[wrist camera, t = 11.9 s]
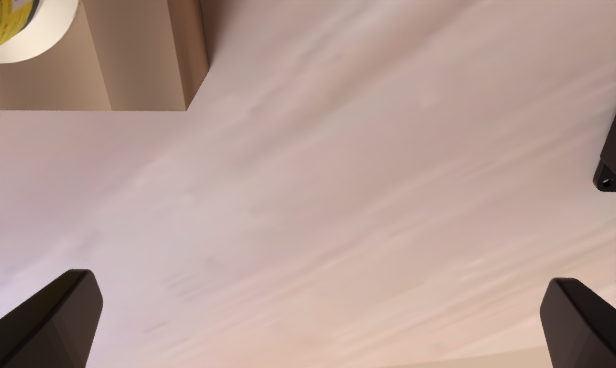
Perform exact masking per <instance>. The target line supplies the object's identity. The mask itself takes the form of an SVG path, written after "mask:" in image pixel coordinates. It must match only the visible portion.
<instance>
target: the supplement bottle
mask: <svg viewBox="0 0 616 368" xmlns="http://www.w3.org/2000/svg"><path fill="white" fill-rule="evenodd" d="M43 2H44V0H0V45H2V44H4V43H5V42H7V41H8V40H10V39H11V38H12V37H14V36H15V35H17V34H18V33H19V32H21V31H22V30H23V29H25V28H26V27H27V26H28V25H29V24H30V23H31V22H32V21H33V20H34V18H35V17H36V16H37V14H38V12H39V10H40V8H41V6H42V4H43Z"/></svg>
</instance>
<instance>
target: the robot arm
mask: <svg viewBox="0 0 616 368" xmlns="http://www.w3.org/2000/svg"><path fill="white" fill-rule="evenodd" d="M600 158H601V160H600V162H599V165H598V167H597V170H596V172H595V175H594V178H593V183H594V185H595V186H596V188H597V189H598V190H600V191H603V192H616V116H615V118H614V121H613V123H612V126H611V129H610V131H609V134H608V136H607V139H606V142H605V144H604V147H603V149H602V152H601V155H600ZM606 179H609V180H608V181H607V182H604V183H603V181H604V180H606ZM102 308H103V298H102V294H101V292H100V289H99V286H98V284H97V281H96V278H95V276H94V274H93V272H92V271H91V270H88V269H70V270H68V271H66V272H65V273H63V274H62V275H60V276H59V277H58V278H56V279H55V280H54V281H52V282H51V283H49V284H48V285H47V286H45V287H44V288H42V289H41V290H40V291H38V292H37V293H36V294H34V295H33V296H31V297H30V298H29V299H27V300H26V301H24V302H23V303H22V304H20V305H19V306H18V307H16V308H15V309H13V310H12V311H11V312H9V313H8V314H6V315H5V316H4V317H2V318H1V319H0V368H85V367H86V363H87V360H88V356H89V353H90V349H91V346H92V343H93V339H94V336H95V332H96V329H97V325H98V322H99V319H100V315H101V312H102ZM540 318H541V322H542V326H543V330H544V334H545V338H546V342H547V346H548V350H549V353H550V357H551V361H552V365H553V368H616V309H615V308H614V307H613V306H611V305H610V304H609V303H607V302H606V301H605V300H604V299H602V298H601V297H600V296H598V295H597V294H596V293H595V292H593V291H592V290H591V289H589V288H588V287H587V286H585V285H584V284H583V283H582V282H580V281H579V280H577V279H575V278H553V279H552V280H551V281H550V283H549V285H548V288H547V290H546V293H545V296H544V298H543V301H542V303H541V307H540Z"/></svg>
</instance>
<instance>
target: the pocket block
mask: <svg viewBox="0 0 616 368" xmlns="http://www.w3.org/2000/svg"><path fill="white" fill-rule="evenodd" d="M208 72H209V64H208V57H207V49H206V42H205V35H204V27H203V20H202V13H201V6H200V0H44V2H43V4H42V6H41V8H40V10H39V12H38V14H37V16H36V17H35V18H34V20H33V21H32V22H31V23H30V24H29V25H28V26H27V27H26V28H25V29H23V30H22V31H21V32H19V33H18V34H17V35H15V36H14V37H12V38H11V39H10V40H8V41H7V42H5V43H4V44H2V45H0V110H69V111H187V109H188V107H189V105H190V103H191V102H192V100H193V98H194V96H195V95H196V93H197V91H198V89H199V88H200V86H201V84H202V82H203V81H204V79H205V77H206V75H207V73H208Z"/></svg>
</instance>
